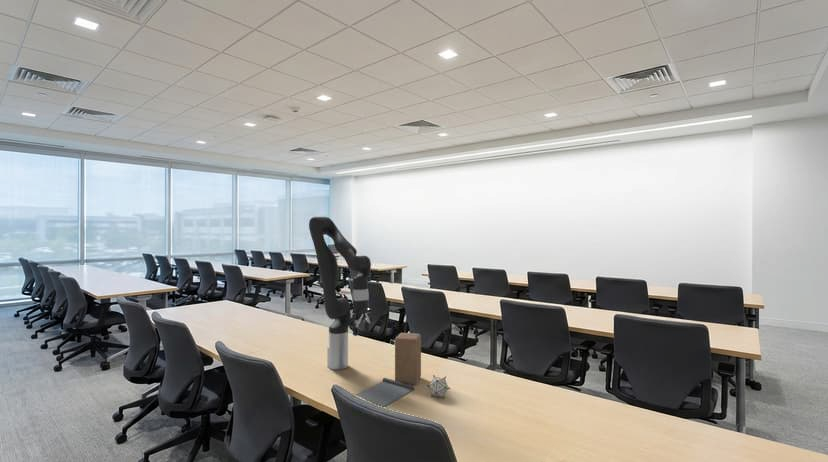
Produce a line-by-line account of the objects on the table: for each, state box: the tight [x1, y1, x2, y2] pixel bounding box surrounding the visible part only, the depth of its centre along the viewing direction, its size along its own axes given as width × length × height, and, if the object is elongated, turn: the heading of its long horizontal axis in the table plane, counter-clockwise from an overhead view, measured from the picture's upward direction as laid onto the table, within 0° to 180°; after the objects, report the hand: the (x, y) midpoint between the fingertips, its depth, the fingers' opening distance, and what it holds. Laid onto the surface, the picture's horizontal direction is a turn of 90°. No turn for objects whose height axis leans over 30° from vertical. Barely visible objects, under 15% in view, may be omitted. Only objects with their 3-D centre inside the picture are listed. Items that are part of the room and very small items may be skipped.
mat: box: [355, 377, 415, 408], centre depth 157 cm, size 16×20×2 cm
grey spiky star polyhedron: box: [426, 374, 451, 400], centre depth 154 cm, size 9×8×10 cm
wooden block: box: [394, 332, 422, 386], centre depth 171 cm, size 10×10×20 cm
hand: (361, 333), depth 179 cm, fingers open, 8 cm apart
